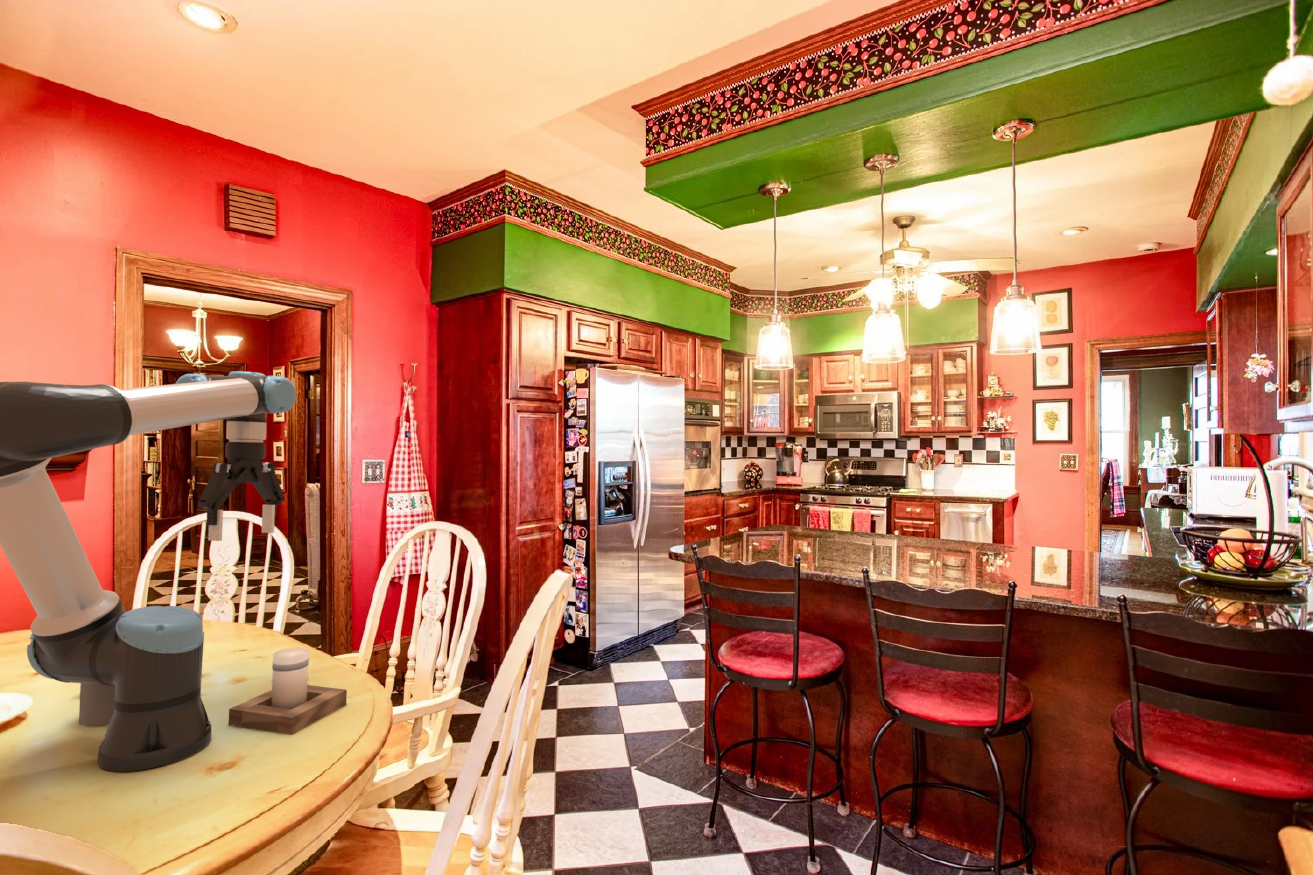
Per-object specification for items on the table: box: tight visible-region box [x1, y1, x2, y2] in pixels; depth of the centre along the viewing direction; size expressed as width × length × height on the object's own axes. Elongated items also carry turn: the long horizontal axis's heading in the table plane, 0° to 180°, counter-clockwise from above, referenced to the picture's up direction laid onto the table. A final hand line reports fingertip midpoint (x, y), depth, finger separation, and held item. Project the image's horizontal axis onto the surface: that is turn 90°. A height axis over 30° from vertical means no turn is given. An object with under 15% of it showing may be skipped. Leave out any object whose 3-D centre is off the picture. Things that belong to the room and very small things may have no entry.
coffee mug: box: [78, 683, 115, 728], centre depth 122 cm, size 13×10×10 cm
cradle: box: [228, 684, 348, 735], centre depth 123 cm, size 14×14×3 cm
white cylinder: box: [271, 647, 310, 709], centre depth 123 cm, size 6×6×12 cm
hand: (242, 536), depth 141 cm, fingers open, 13 cm apart
